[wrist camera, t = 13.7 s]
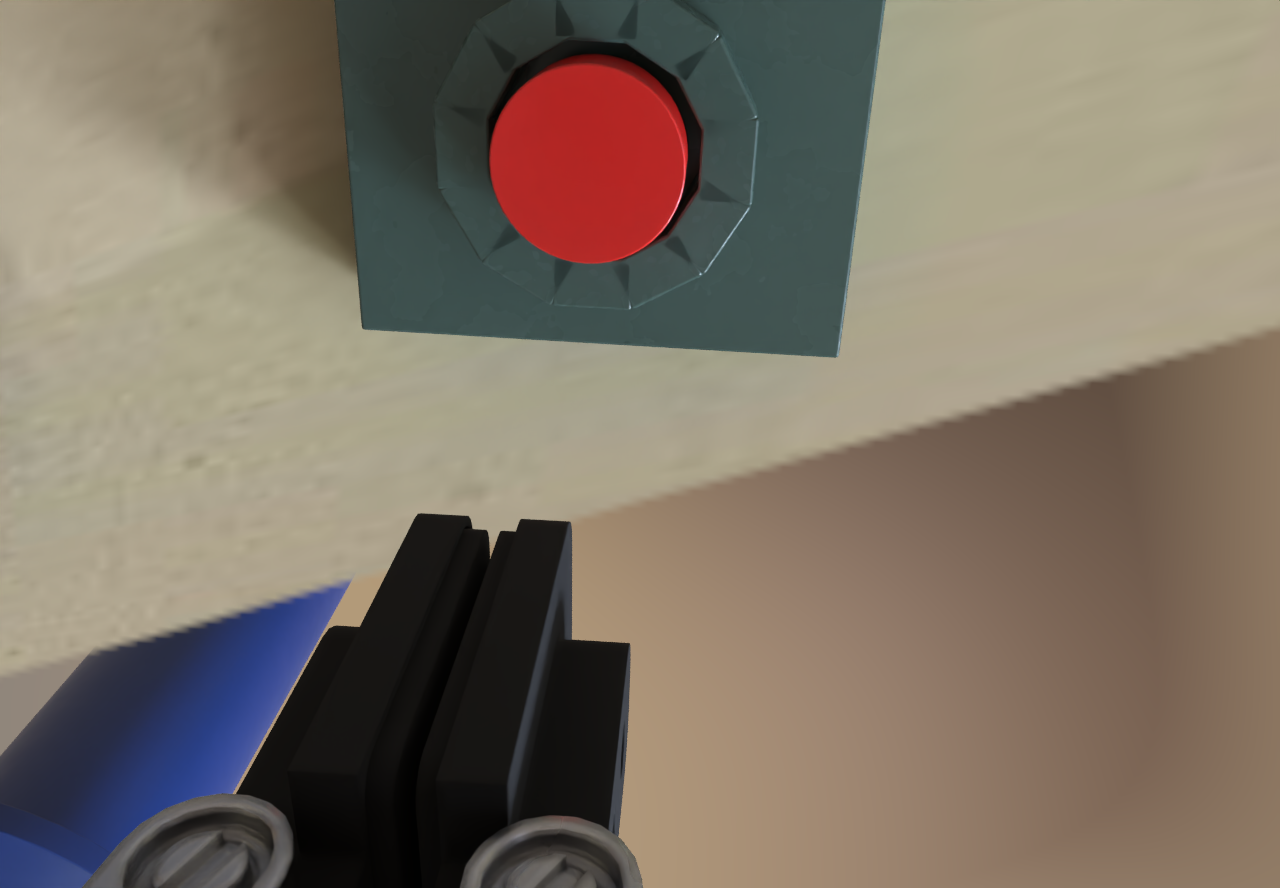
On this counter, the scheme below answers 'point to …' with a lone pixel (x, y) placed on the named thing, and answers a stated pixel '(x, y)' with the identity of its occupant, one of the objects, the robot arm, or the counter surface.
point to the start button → (589, 158)
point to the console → (714, 184)
